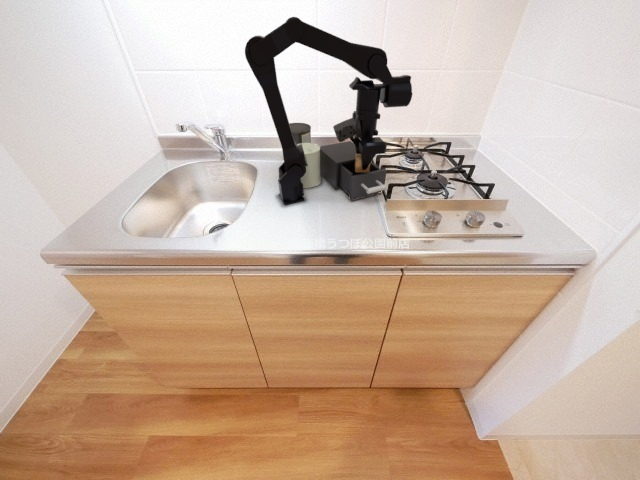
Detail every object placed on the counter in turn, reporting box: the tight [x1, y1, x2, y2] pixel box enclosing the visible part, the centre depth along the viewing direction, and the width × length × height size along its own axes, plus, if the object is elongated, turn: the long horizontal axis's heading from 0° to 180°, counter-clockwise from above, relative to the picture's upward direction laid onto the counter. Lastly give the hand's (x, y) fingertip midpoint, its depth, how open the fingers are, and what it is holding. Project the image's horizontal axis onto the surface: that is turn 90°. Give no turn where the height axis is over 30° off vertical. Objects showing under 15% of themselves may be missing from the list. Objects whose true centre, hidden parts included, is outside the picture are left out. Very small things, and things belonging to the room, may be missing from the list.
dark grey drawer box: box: [319, 140, 373, 190], centre depth 85 cm, size 15×13×9 cm
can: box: [297, 142, 322, 189], centre depth 82 cm, size 9×9×12 cm
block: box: [355, 154, 370, 172], centre depth 74 cm, size 4×4×4 cm
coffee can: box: [289, 122, 312, 144], centre depth 91 cm, size 10×10×14 cm
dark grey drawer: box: [338, 162, 388, 201], centre depth 77 cm, size 18×11×7 cm, turn 23°
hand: (361, 166), depth 74 cm, fingers closed on block, 4 cm apart
